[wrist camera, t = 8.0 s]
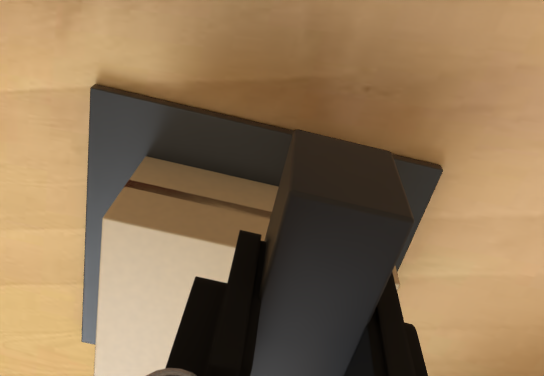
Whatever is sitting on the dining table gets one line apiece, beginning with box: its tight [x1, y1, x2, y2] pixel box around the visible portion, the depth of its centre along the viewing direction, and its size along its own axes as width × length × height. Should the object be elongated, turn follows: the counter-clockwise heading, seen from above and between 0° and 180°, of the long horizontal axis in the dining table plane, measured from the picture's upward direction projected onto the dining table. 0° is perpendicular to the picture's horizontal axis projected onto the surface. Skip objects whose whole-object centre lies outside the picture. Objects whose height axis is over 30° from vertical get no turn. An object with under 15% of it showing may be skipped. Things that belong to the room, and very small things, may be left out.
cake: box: [82, 84, 443, 376], centre depth 26 cm, size 18×18×7 cm
